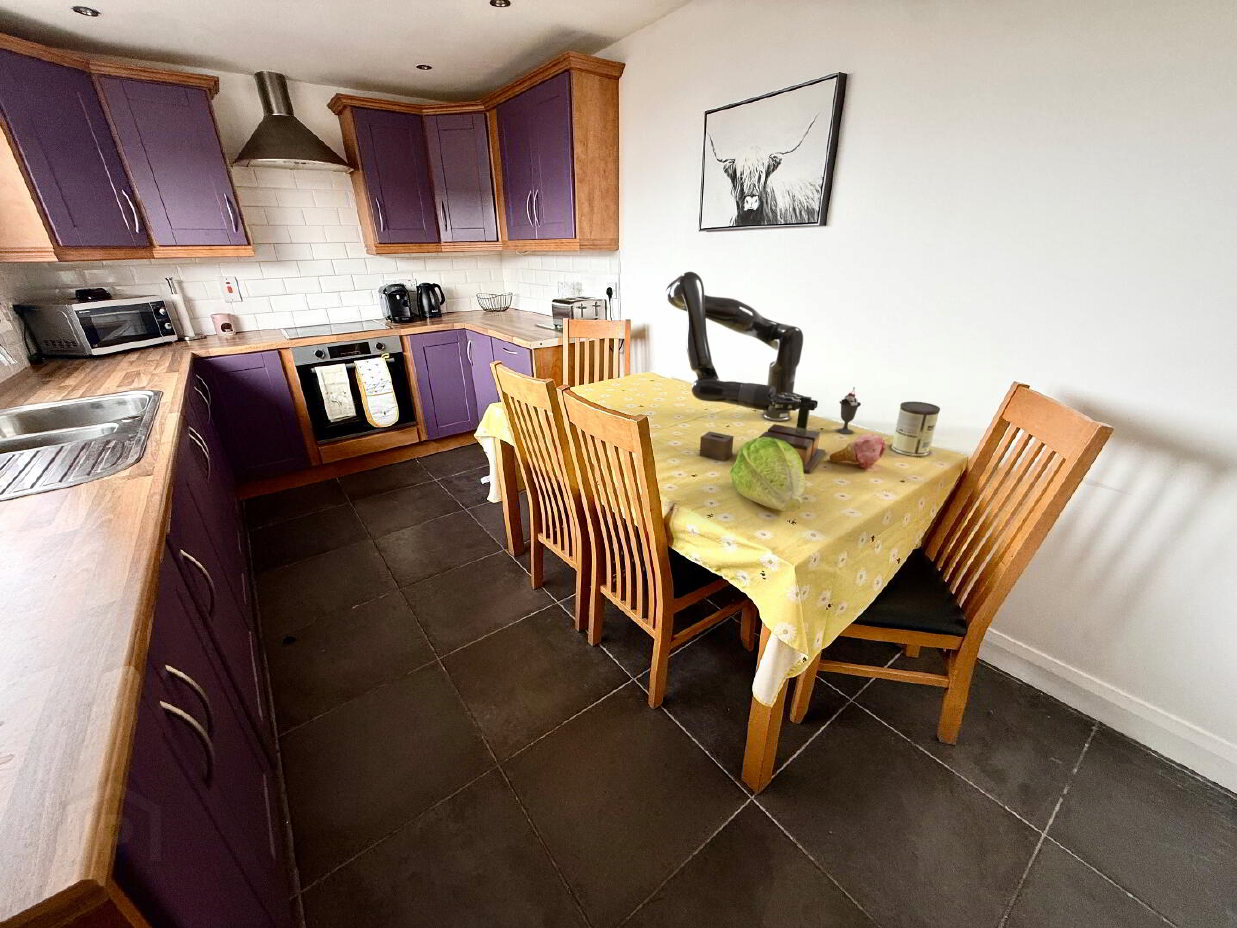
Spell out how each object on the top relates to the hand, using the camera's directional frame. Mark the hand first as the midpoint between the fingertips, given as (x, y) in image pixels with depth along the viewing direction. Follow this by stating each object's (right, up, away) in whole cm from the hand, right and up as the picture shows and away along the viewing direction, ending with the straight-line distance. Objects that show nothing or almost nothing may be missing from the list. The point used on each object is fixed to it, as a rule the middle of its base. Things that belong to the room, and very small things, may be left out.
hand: (815, 405), depth 141 cm
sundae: (+22, -6, +30) cm, 37 cm away
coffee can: (+34, -12, +14) cm, 39 cm away
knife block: (-26, -14, +12) cm, 32 cm away
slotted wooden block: (-5, -14, +10) cm, 18 cm away
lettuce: (-18, -26, -16) cm, 35 cm away
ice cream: (+13, -17, +3) cm, 22 cm away
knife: (-2, -13, +7) cm, 15 cm away
